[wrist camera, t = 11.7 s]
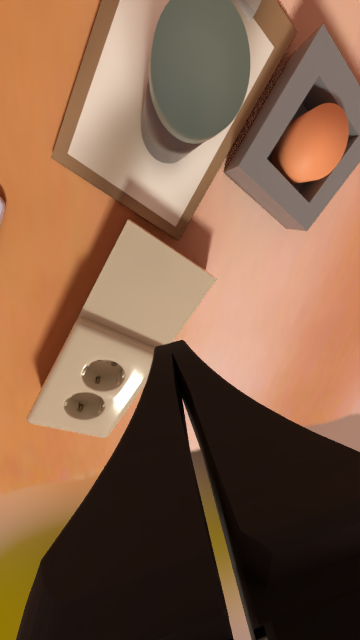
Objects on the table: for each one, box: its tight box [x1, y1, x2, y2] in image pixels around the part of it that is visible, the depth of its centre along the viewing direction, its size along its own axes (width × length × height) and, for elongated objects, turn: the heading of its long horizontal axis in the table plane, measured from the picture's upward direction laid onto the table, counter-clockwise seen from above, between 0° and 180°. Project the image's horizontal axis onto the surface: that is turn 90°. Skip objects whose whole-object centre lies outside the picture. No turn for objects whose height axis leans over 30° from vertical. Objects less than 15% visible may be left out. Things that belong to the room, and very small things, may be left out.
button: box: [272, 103, 349, 184], centre depth 13 cm, size 4×4×2 cm
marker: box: [141, 0, 250, 164], centre depth 10 cm, size 3×3×7 cm
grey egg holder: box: [224, 24, 360, 231], centre depth 14 cm, size 7×7×2 cm
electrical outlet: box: [27, 218, 217, 438], centre depth 17 cm, size 7×4×18 cm
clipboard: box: [51, 0, 297, 240], centre depth 12 cm, size 9×13×1 cm
